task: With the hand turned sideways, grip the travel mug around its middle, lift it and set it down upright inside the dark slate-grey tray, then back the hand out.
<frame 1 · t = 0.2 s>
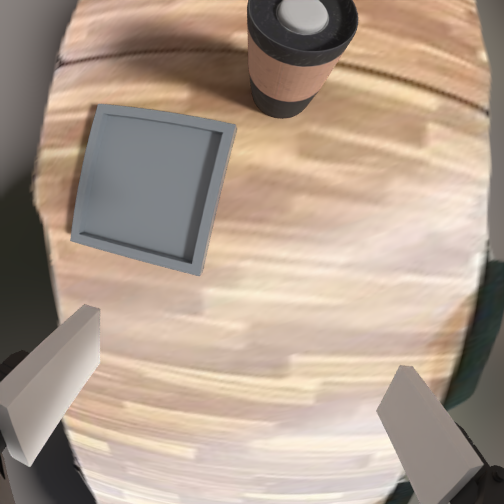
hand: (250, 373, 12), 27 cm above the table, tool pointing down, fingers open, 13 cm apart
slate tray: (149, 184, 37), on the table
travel mug: (280, 92, 35), on the table
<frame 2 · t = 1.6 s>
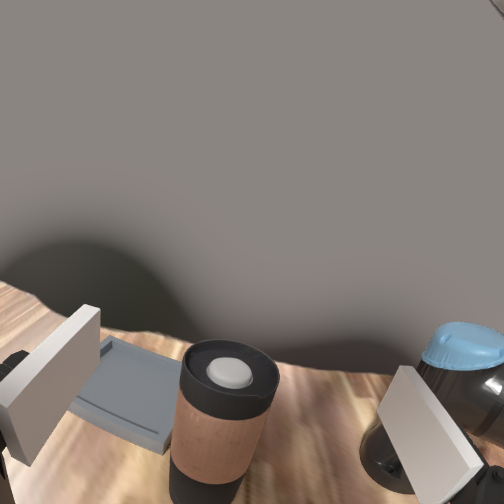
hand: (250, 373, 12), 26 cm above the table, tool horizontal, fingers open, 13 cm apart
slate tray: (129, 392, 41), on the table
travel mug: (200, 495, 27), on the table
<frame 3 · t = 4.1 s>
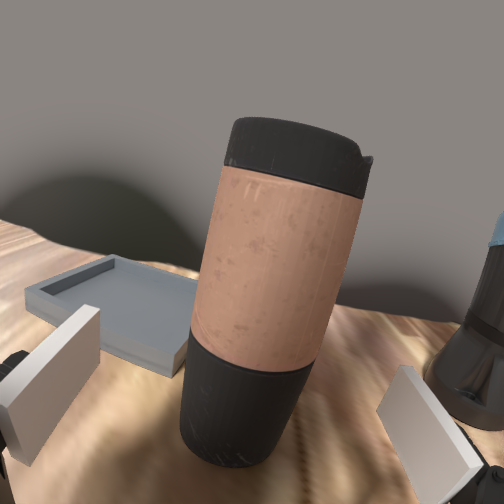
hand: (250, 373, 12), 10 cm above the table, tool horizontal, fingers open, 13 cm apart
slate tray: (131, 309, 35), on the table
travel mug: (227, 433, 20), on the table
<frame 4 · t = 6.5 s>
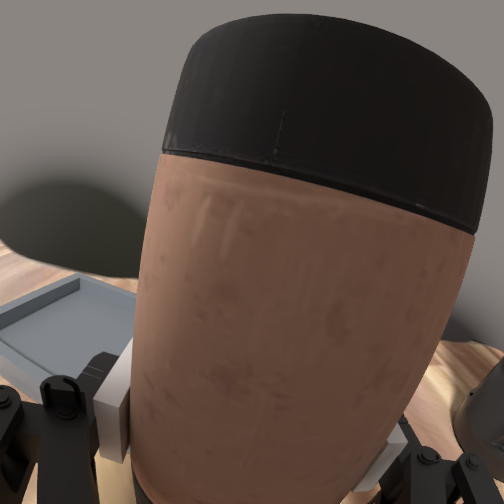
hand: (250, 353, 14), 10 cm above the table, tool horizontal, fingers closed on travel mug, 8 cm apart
slate tray: (93, 348, 25), on the table
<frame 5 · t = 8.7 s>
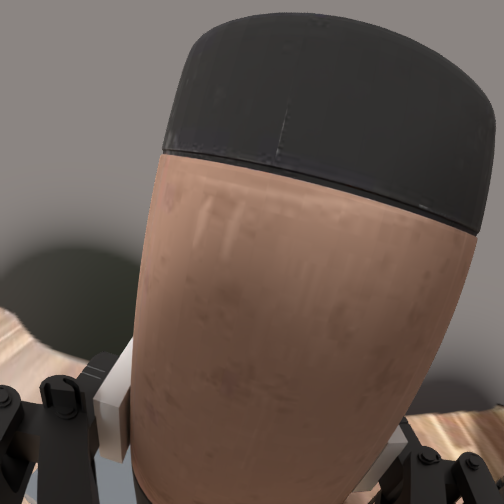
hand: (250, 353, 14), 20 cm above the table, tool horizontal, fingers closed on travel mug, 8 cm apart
slate tray: (156, 488, 22), on the table
when the fingers open (12 cm above the table, at t = 11.1 s): travel mug drops 1 cm, resting on slate tray.
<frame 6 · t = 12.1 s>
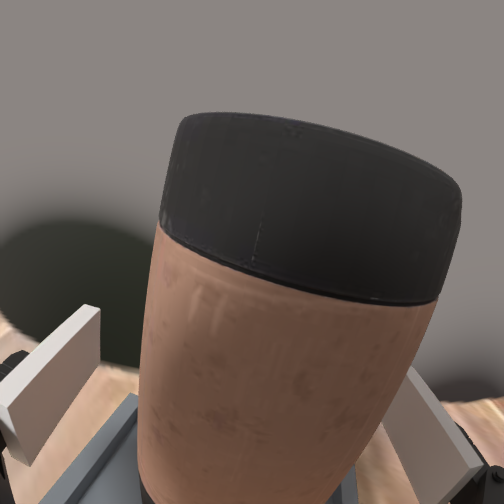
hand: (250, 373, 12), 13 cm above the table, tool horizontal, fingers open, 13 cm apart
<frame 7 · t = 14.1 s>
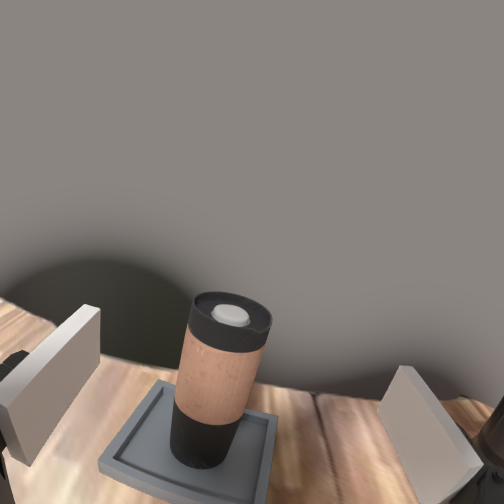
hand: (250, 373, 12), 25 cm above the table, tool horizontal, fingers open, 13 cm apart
slate tray: (196, 452, 33), on the table
travel mug: (197, 449, 33), point 1 cm above the table, touching slate tray
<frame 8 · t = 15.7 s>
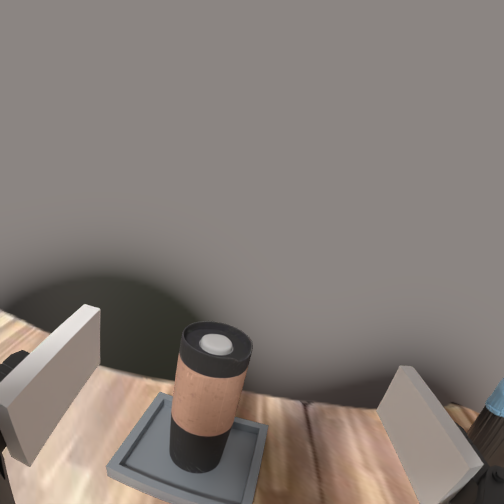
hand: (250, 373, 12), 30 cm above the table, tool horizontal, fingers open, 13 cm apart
slate tray: (193, 458, 37), on the table
travel mug: (194, 455, 36), point 1 cm above the table, touching slate tray
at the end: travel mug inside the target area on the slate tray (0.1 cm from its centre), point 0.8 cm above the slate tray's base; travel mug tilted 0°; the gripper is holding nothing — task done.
